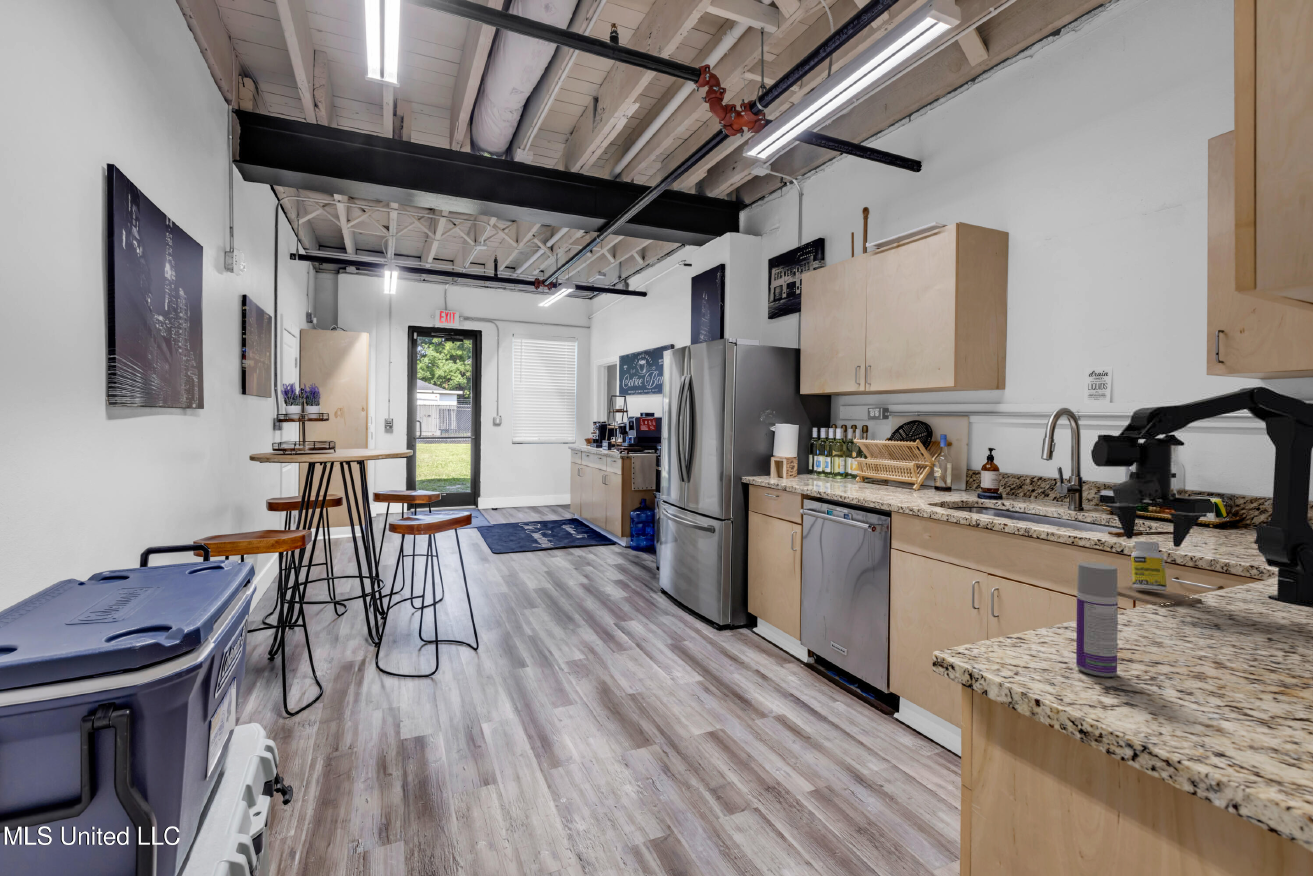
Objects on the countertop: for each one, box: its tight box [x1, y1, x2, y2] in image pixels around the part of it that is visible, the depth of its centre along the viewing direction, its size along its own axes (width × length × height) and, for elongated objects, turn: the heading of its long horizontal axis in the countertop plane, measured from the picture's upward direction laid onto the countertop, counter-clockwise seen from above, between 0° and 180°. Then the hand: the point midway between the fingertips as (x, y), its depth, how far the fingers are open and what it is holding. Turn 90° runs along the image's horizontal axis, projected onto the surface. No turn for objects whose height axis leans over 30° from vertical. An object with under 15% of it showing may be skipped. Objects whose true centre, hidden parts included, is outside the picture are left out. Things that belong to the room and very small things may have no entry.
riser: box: [1117, 585, 1203, 608], centre depth 121 cm, size 11×11×2 cm
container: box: [1075, 561, 1119, 678], centre depth 83 cm, size 5×5×15 cm
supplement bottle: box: [1130, 540, 1168, 591], centre depth 123 cm, size 5×5×10 cm
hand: (1152, 542), depth 121 cm, fingers open, 9 cm apart
